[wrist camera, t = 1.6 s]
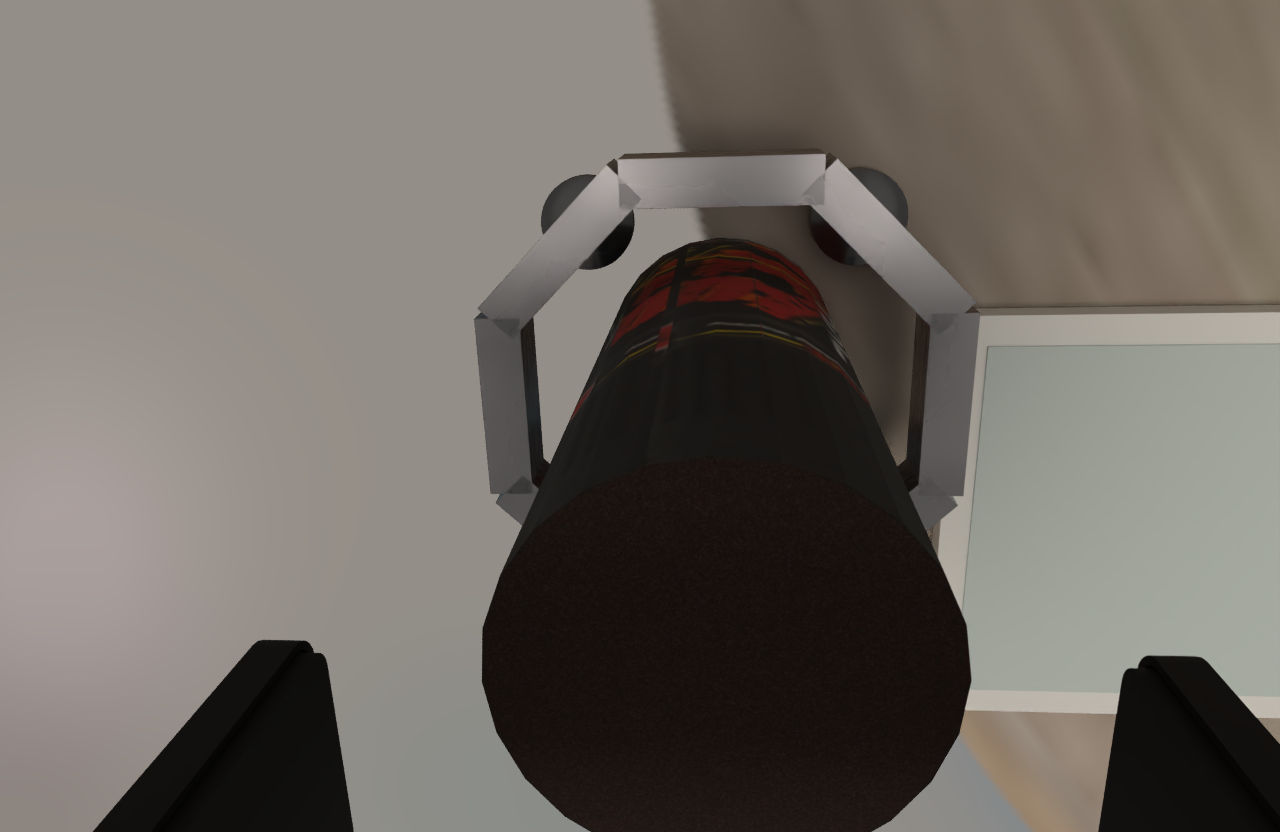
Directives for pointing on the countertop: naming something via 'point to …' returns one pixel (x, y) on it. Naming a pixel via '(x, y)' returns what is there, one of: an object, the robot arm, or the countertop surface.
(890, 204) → the ring stand
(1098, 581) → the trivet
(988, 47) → the countertop surface
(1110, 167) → the countertop surface
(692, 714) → the deodorant
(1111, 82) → the countertop surface
